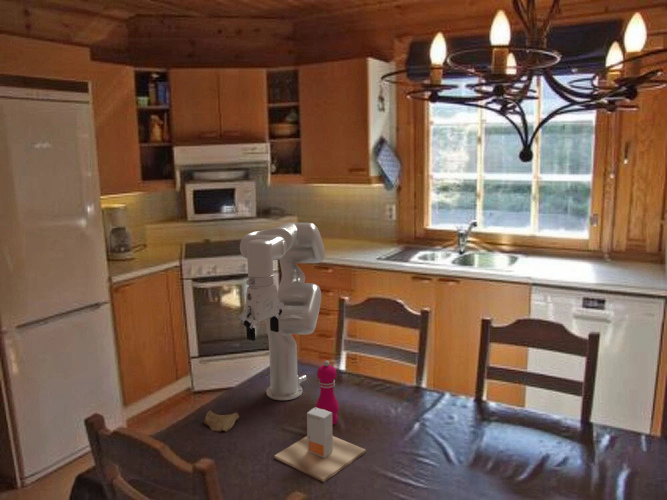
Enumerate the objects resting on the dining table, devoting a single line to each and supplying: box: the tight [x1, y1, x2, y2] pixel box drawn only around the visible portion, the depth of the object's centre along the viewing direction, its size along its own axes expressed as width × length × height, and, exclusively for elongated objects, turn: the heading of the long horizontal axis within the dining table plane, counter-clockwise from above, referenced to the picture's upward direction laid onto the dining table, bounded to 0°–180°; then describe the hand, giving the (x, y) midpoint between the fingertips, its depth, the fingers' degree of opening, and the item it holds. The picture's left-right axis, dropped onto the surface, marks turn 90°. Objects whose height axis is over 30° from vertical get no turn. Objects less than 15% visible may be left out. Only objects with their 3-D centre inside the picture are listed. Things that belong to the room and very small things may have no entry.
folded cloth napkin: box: [274, 435, 367, 483], centre depth 153 cm, size 18×18×1 cm
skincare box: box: [306, 406, 334, 458], centre depth 152 cm, size 6×4×12 cm
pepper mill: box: [315, 360, 340, 426], centre depth 170 cm, size 7×7×20 cm
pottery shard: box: [203, 410, 240, 433], centre depth 171 cm, size 11×4×10 cm
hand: (263, 335), depth 167 cm, fingers open, 9 cm apart
